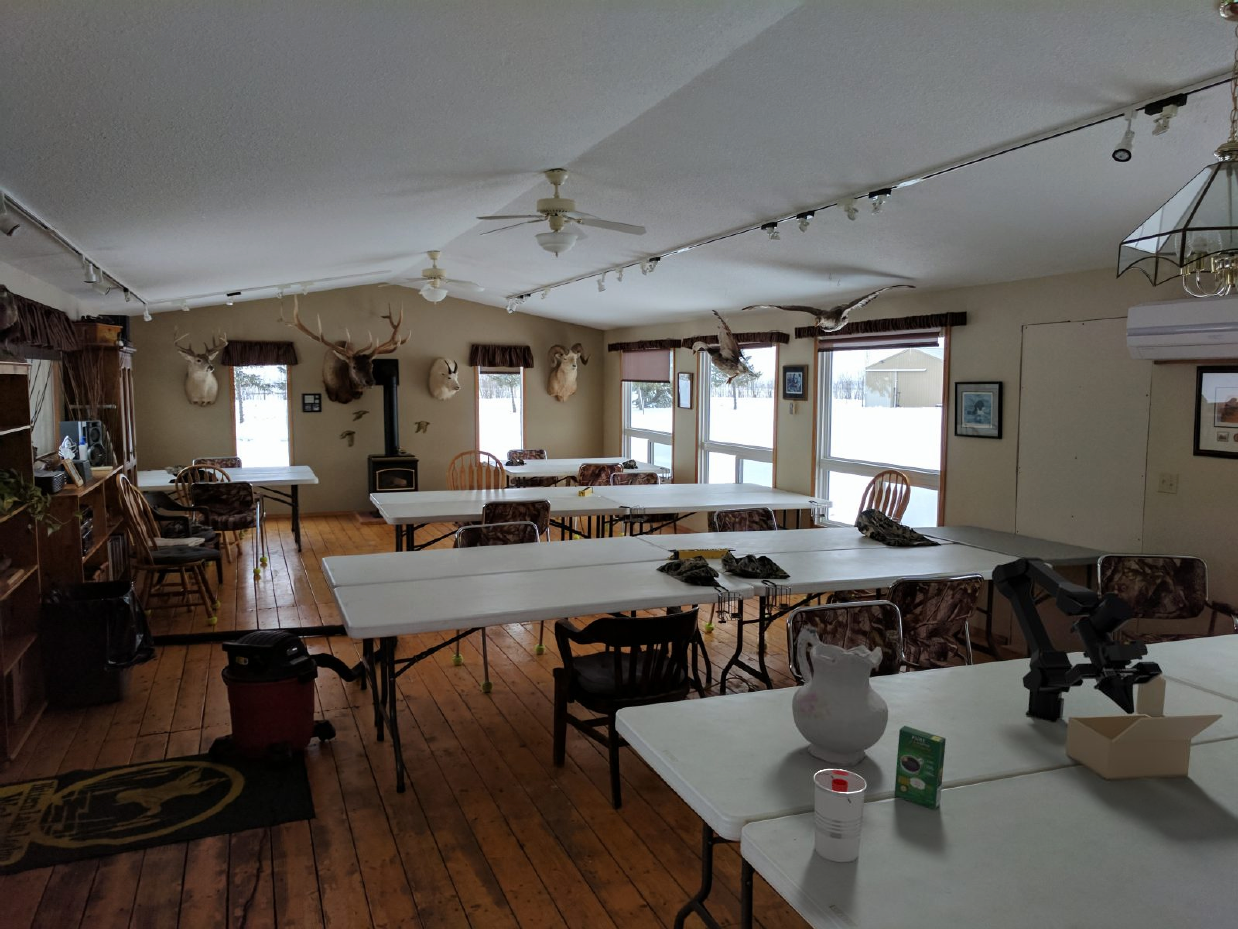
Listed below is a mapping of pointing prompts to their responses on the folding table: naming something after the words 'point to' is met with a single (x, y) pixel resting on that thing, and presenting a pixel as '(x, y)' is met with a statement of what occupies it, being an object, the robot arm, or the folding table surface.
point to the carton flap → (1166, 728)
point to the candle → (1151, 697)
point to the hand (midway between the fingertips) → (1131, 713)
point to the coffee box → (919, 767)
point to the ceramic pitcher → (838, 700)
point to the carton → (1123, 750)
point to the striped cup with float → (838, 814)
